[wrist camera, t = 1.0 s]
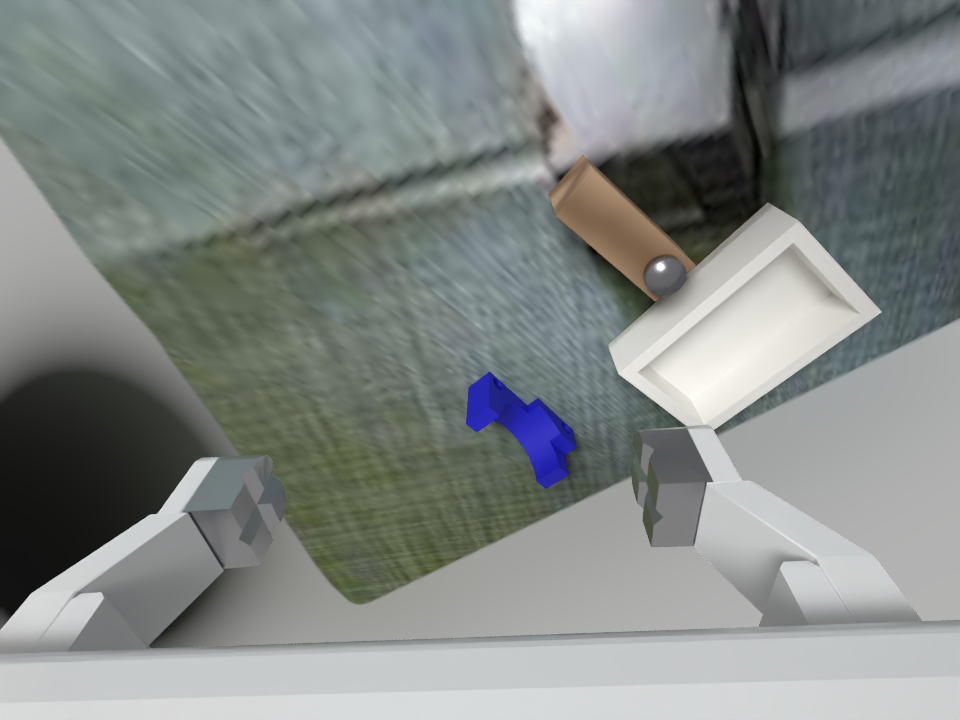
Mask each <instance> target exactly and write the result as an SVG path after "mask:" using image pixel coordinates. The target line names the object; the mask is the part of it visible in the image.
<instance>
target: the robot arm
mask: <svg viewBox="0 0 960 720" xmlns="http://www.w3.org/2000/svg"><path fill="white" fill-rule="evenodd" d="M633 446H634V448H635V451H636V454H637V455H636V456H635V457H634V458H633V459H632V469H631V473H632V484H633V489H634V493H635V497H636V500H637V503H638V504H639V505H640V506H641V507H643V508H644V512H643V523H644V526H645V529H646V532H647V535H648V538H649V541H650V544H651V547H670V546H694V549H695V550H696V551H697V552H699V553H700V554H701V555H702V556H703V557H704V558H705V559H706V560H707V561H708V562H709V563H710V564H711V565H712V566H713V567H714V568H715V569H716V570H717V571H718V572H719V573H721V574H722V575H723V576H724V577H725V578H726V579H727V580H728V581H729V582H730V583H731V584H732V585H733V586H734V587H735V588H736V589H737V590H738V591H739V592H740V593H741V594H742V595H744V596H745V597H746V598H747V599H748V600H749V601H750V602H751V603H752V604H753V605H754V606H755V607H756V608H757V609H758V610H759V611H760V612H761V613H762V614H763V616H762V619H761V622H760V624H759V627H746V628H718V629H690V630H663V631H634V632H605V633H579V634H578V633H577V634H551V635H526V636H525V635H524V636H499V637H471V638H445V639H444V638H443V639H413V640H386V641H355V642H326V643H299V644H270V645H243V646H214V647H189V648H188V647H187V648H159V649H158V648H157V649H151V648H150V647H149V646H148V645H149V644H150V643H151V642H152V641H153V640H154V639H155V638H156V637H157V636H158V635H159V634H160V633H161V632H162V631H163V630H164V629H165V628H166V627H167V626H168V625H169V624H170V623H171V622H172V621H173V620H174V619H175V618H176V617H177V616H178V615H179V614H180V613H182V611H183V610H184V609H185V608H186V607H188V605H190V604H191V603H192V602H193V601H194V600H195V599H196V598H197V597H198V596H199V594H201V593H202V592H203V591H204V590H205V589H206V588H207V587H208V586H209V585H210V584H211V583H212V582H213V581H214V580H215V579H216V578H217V577H218V576H219V575H220V574H221V572H223V569H224V568H238V567H251V566H261V565H262V563H263V560H264V558H265V556H266V553H267V551H268V549H269V547H270V545H271V543H272V540H273V539H272V536H271V534H270V531H271V530H272V529H273V528H275V527H276V526H277V525H278V524H279V523H280V522H281V520H282V517H283V515H284V513H285V506H286V494H285V489H284V486H283V484H282V482H281V481H280V480H279V479H277V478H276V477H274V476H273V475H272V473H273V471H274V468H275V466H274V464H273V462H272V460H271V458H270V457H269V456H266V455H250V456H225V457H213V458H201V459H199V460H197V461H196V462H195V463H194V464H193V465H192V467H191V468H190V469H189V471H188V472H187V474H186V475H185V476H184V478H183V480H182V481H181V482H180V483H179V485H178V486H177V487H176V489H175V490H174V492H173V493H172V494H171V496H170V497H169V499H168V500H167V501H166V503H165V504H164V506H163V507H162V508H161V510H160V511H159V513H158V514H154V515H153V514H152V515H149V516H148V517H146V518H145V519H143V520H142V521H140V522H139V523H137V524H136V525H134V526H133V527H131V528H130V529H128V530H127V531H125V532H123V533H122V534H121V535H119V536H117V537H116V538H115V539H113V540H111V541H110V542H108V543H107V544H105V545H104V546H103V547H101V548H99V549H98V550H96V551H95V552H93V553H92V554H90V555H89V556H87V557H86V558H84V559H83V560H81V561H80V562H78V563H77V564H75V565H74V566H72V567H71V568H69V569H68V570H66V571H65V572H63V573H62V574H60V575H59V576H57V577H56V578H54V579H53V580H51V581H50V582H48V583H47V584H45V585H44V586H42V587H41V588H39V589H38V590H36V591H35V592H33V593H32V594H31V595H30V596H29V597H28V598H27V599H26V601H25V602H24V603H23V604H22V605H21V606H20V608H19V609H18V610H17V611H16V613H15V614H14V615H13V616H12V617H11V618H10V620H9V621H8V622H7V623H6V624H5V626H4V627H3V628H2V629H1V630H0V720H960V620H945V621H944V620H943V621H922V620H921V619H920V617H919V616H918V615H917V613H916V612H915V611H914V609H913V608H912V607H911V605H910V604H909V602H908V601H907V600H906V598H905V597H904V596H903V595H902V593H901V592H900V590H899V589H898V588H897V586H896V585H895V584H894V583H893V581H892V580H891V578H890V577H889V576H888V574H887V573H886V572H885V570H884V569H883V568H882V566H881V565H880V563H879V562H878V561H877V559H876V558H875V557H874V556H873V555H871V554H870V553H868V552H866V551H865V550H863V549H862V548H860V547H858V546H857V545H855V544H853V543H852V542H850V541H849V540H847V539H845V538H844V537H842V536H841V535H839V534H837V533H836V532H834V531H832V530H831V529H829V528H828V527H826V526H824V525H823V524H821V523H819V522H818V521H816V520H814V519H813V518H811V517H810V516H808V515H806V514H805V513H803V512H801V511H800V510H798V509H797V508H795V507H793V506H792V505H790V504H788V503H787V502H785V501H784V500H782V499H780V498H779V497H777V496H776V495H774V494H772V493H771V492H769V491H767V490H765V489H764V488H762V487H761V486H759V485H757V484H756V483H754V482H753V481H751V480H746V481H743V479H742V478H741V476H740V474H739V473H738V471H737V469H736V467H735V466H734V464H733V462H732V461H731V459H730V457H729V456H728V454H727V452H726V450H725V449H724V447H723V445H722V443H721V442H720V440H719V438H718V437H717V435H716V433H715V431H714V430H713V428H712V427H711V426H709V425H697V426H685V427H677V428H663V429H649V430H636V431H635V434H634V441H633Z"/></svg>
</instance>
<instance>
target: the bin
mask: <svg viewBox="0 0 960 720" xmlns="http://www.w3.org/2000/svg"><path fill="white" fill-rule="evenodd" d="M880 313H881V311H880V309H879V308H878V307H877V306H876V305H875V304H874V303H873V302H872V301H871V300H870V298H869V297H868V296H867V295H866V294H865V293H864V292H863V291H862V290H861V289H860V288H859V286H858V285H857V284H856V283H855V282H854V281H853V280H852V279H851V278H850V277H849V275H848V274H847V273H846V272H845V271H844V270H843V269H842V268H841V267H840V266H839V264H838V263H837V262H836V261H835V260H834V259H833V258H832V257H831V256H830V255H829V253H828V252H827V251H826V250H825V249H824V248H823V247H822V246H821V245H820V244H819V242H818V241H817V240H816V239H815V238H814V237H813V236H812V235H811V234H810V233H809V232H808V230H807V229H806V228H805V227H804V226H803V225H802V224H801V223H800V222H799V221H798V220H796V219H795V218H793V217H791V216H790V215H788V214H786V213H785V212H783V211H781V210H780V209H778V208H776V207H775V206H773V205H771V204H770V203H767V204H765V205H764V206H763V207H762V208H761V209H760V210H759V211H758V212H756V213H755V214H754V215H753V216H752V217H751V218H750V219H749V220H747V221H746V222H745V223H744V224H743V225H742V226H741V227H740V228H739V229H737V230H736V231H735V232H734V233H733V234H732V235H731V236H730V237H728V238H727V239H726V240H725V241H724V242H723V243H722V244H721V245H719V246H718V247H717V248H716V249H715V250H714V251H713V252H712V253H710V254H709V255H708V256H707V257H706V258H705V259H704V260H703V261H702V262H700V263H699V264H698V265H697V266H696V267H695V268H694V269H693V270H691V271H690V272H689V273H688V274H687V277H686V281H685V283H684V284H683V286H682V287H681V288H680V289H679V290H678V291H676V292H675V293H673V294H670V295H667V296H662V297H661V298H660V299H659V300H658V301H657V302H656V303H654V304H653V305H652V306H651V307H650V308H649V309H648V310H647V311H645V312H644V313H643V314H642V315H641V316H640V317H639V318H638V319H637V320H635V321H634V322H633V323H632V324H631V325H630V326H629V327H628V328H626V329H625V330H624V331H623V332H622V333H621V334H620V335H619V336H617V337H616V338H615V339H614V340H613V341H612V342H611V343H610V344H608V347H609V350H610V353H611V355H612V358H613V361H614V363H615V366H616V369H617V372H618V374H619V375H621V376H622V377H623V378H624V379H626V380H627V381H628V382H630V383H631V384H632V385H634V386H635V387H636V388H638V389H639V390H640V391H641V392H643V393H644V394H645V395H647V396H648V397H649V398H651V399H652V400H653V401H655V402H656V403H657V404H659V405H660V406H661V407H662V408H664V409H665V410H666V411H668V412H669V413H670V414H672V415H673V416H674V417H676V418H677V419H678V420H679V421H681V422H682V423H683V424H685V425H686V426H697V425H709V426H711V427H712V428H713V430H715V429H716V428H717V427H719V426H720V425H722V424H723V423H725V422H726V421H727V420H729V419H730V418H732V417H733V416H735V415H736V414H737V413H739V412H740V411H742V410H743V409H744V408H746V407H747V406H749V405H750V404H752V403H753V402H754V401H756V400H757V399H759V398H760V397H762V396H763V395H764V394H766V393H767V392H769V391H770V390H772V389H773V388H774V387H776V386H777V385H779V384H780V383H782V382H783V381H784V380H786V379H787V378H789V377H790V376H792V375H793V374H794V373H796V372H797V371H799V370H800V369H802V368H803V367H804V366H806V365H807V364H809V363H810V362H811V361H813V360H814V359H816V358H817V357H819V356H820V355H821V354H823V353H824V352H826V351H827V350H829V349H830V348H831V347H833V346H834V345H836V344H837V343H839V342H840V341H841V340H843V339H844V338H846V337H847V336H849V335H850V334H851V333H853V332H854V331H856V330H857V329H859V328H860V327H861V326H863V325H864V324H866V323H867V322H869V321H870V320H871V319H873V318H874V317H876V316H877V315H878V314H880Z"/></svg>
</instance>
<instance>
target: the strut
mask: <svg viewBox="0 0 960 720" xmlns="http://www.w3.org/2000/svg"><path fill="white" fill-rule="evenodd" d="M549 197H550V200H551V203H552V206H553V209H554V212H555V215H556V216H557V217H558V218H559V219H560V220H561V221H563V222H564V223H565V224H566V225H567V226H568V227H569V228H571V229H572V230H573V231H574V232H575V233H576V234H578V235H579V236H580V237H581V238H582V239H583V240H585V241H586V242H587V243H588V244H589V245H590V246H591V247H593V248H594V249H595V250H596V251H597V252H598V253H600V254H601V255H602V256H603V257H604V258H605V259H607V260H608V261H609V262H610V263H611V264H612V265H613V266H615V267H616V268H617V269H618V270H619V271H620V272H622V273H623V274H624V275H625V276H626V277H627V278H629V279H630V280H631V281H632V282H633V283H634V284H635V285H637V286H638V287H639V288H640V289H641V290H642V291H644V292H645V293H646V294H647V295H648V296H649V297H651V298H652V299H653V300H654V301H655V302H656V301H657V300H658V299H659V298H660V297H661V296H667V295H670V294H673V293H675V292H676V291H678V290H679V289H680V288H681V287H682V286H683V284H684V283H685V281H686V277H687V273H688V272H689V271H690V270H692V269H693V268H694V267H695V266H696V265H695V264H694V263H693V262H692V260H691V259H690V258H689V257H688V256H687V255H686V254H685V253H684V251H683V250H682V249H681V248H680V247H679V246H678V245H677V244H676V242H675V241H674V240H673V239H672V238H671V237H670V236H669V235H668V234H666V233H665V232H664V231H663V230H662V229H661V228H660V227H659V226H658V225H657V224H656V223H655V222H654V221H653V220H652V219H651V218H649V217H648V216H647V215H646V214H645V213H644V212H643V211H642V210H641V209H640V208H639V207H638V206H637V205H636V204H635V203H633V202H632V201H631V200H630V199H629V198H628V197H627V196H626V195H625V194H624V193H623V192H622V191H621V190H620V189H619V188H618V187H616V186H615V185H614V184H613V183H612V182H611V181H610V180H609V179H608V178H607V177H606V176H605V175H604V174H603V173H602V172H601V171H599V170H598V169H597V168H596V167H595V166H594V165H593V164H592V163H591V162H590V161H589V160H588V159H587V158H586V157H585V156H584V155H582V157H581V158H580V159H579V160H578V161H577V162H576V164H575V165H574V166H573V167H572V168H571V169H570V170H569V172H568V173H567V174H566V175H565V176H564V177H563V179H562V180H561V181H560V182H559V183H558V184H557V185H556V187H555V188H554V189H553V190H552V191H551V192H550V194H549Z"/></svg>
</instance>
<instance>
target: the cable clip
mask: <svg viewBox="0 0 960 720" xmlns="http://www.w3.org/2000/svg"><path fill="white" fill-rule="evenodd" d="M494 420H495V421H497V422H499V423H501V424H502V425H503V426H505V427H506V428H507V429H508V430H509V431H510V432H512V434H513V435H514V436H515V437H516V438H517V439H518V441H519V442H520V443H521V445H522V446H523V448H524V449H525V451H526V453H527V454H528V456H529V458H530V460H531V463H532V465H533V468H534V471H535V475H536V481H537V482H538V483H539V484H541V485H542V486H543V487H544V488H545V489H546V488H548V487H550V486H551V485H553V484H555V483H556V482H558V481H560V480H561V479H563V478H565V477H566V476H568V469H567V463H566V457H565V454H567V453H568V452H570V451H572V450H573V449H575V448H576V444H575V439H574V434H573V430H572V429H571V428H570V427H569V426H568V425H567V424H566V423H565V422H564V421H562V420H561V419H560V418H559V417H558V416H557V415H556V414H555V413H554V412H553V411H552V410H550V409H549V408H548V407H547V406H546V405H545V404H544V403H543V402H542V401H541V400H540V399H539V398H538V399H536V400H535V401H533V402H532V403H530V404H529V405H526V404H525V403H524V402H523V401H522V400H521V399H519V398H518V397H517V396H516V395H515V394H514V393H513V392H512V391H511V390H509V389H508V388H507V387H506V386H505V385H504V384H503V383H502V382H501V381H499V380H498V379H497V378H496V377H495V376H494V375H493V374H492V373H491V372H488V373H487V374H486V375H485V376H483V377H482V378H481V379H479V380H478V381H477V382H475V383H474V384H473V385H471V386H470V387H469V391H468V404H467V417H466V424H467V425H468V426H470V427H471V428H472V429H473V430H474V431H476V432H478V431H480V430H481V429H482V428H484V427H485V426H487V425H488V424H490V423H491V422H492V421H494Z"/></svg>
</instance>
